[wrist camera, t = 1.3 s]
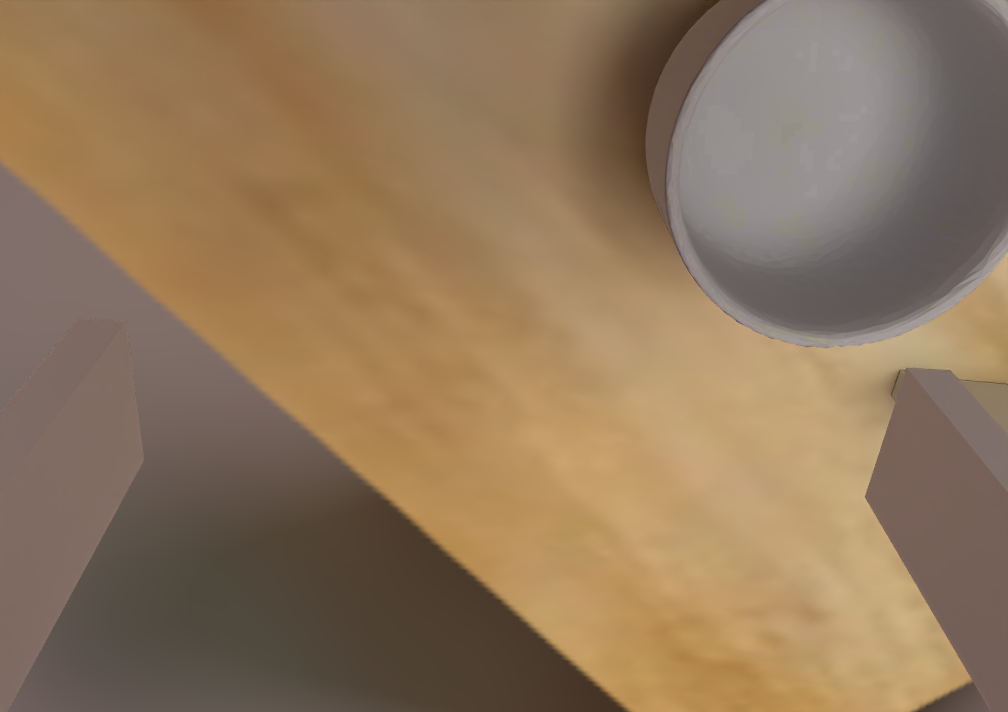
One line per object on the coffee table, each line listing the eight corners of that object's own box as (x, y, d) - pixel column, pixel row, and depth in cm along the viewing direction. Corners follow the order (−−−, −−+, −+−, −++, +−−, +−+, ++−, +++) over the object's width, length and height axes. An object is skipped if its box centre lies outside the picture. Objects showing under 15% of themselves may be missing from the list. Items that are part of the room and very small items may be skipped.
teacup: (578, 201, 34) (608, 288, 27) (705, -114, 30) (781, -109, 22) (909, 312, 37) (1017, 418, 30) (1073, 38, 32) (1246, 86, 25)
